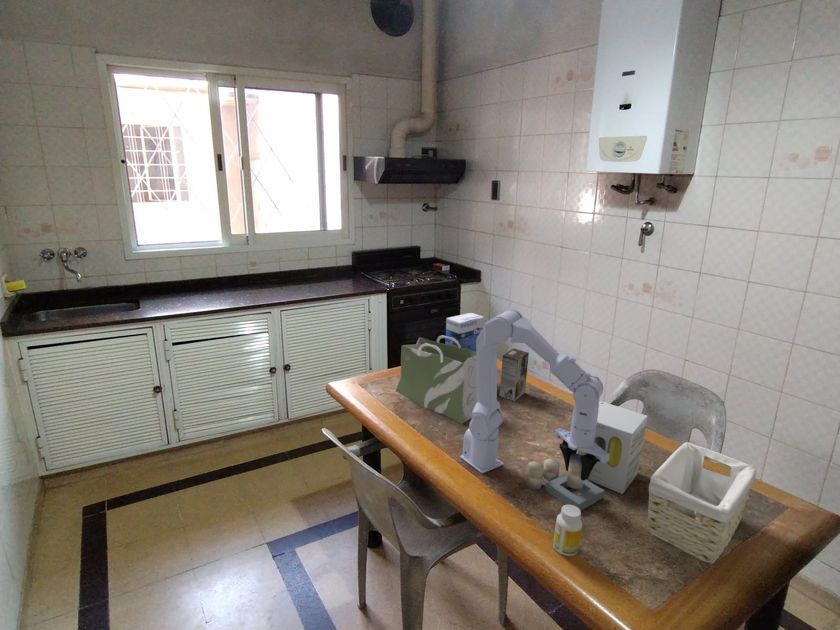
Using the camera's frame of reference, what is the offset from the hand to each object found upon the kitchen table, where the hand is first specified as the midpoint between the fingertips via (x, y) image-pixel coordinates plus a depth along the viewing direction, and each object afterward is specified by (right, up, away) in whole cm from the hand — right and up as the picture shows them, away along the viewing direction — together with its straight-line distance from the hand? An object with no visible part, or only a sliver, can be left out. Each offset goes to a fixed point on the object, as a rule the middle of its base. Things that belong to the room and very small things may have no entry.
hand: (576, 474), depth 124 cm
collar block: (0, -6, +2) cm, 6 cm away
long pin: (0, -3, +1) cm, 3 cm away
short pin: (-4, -3, +9) cm, 10 cm away
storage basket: (+24, -10, -8) cm, 28 cm away
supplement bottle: (-8, -11, -16) cm, 21 cm away
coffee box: (-6, +11, +57) cm, 58 cm away
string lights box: (-23, +14, +67) cm, 72 cm away
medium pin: (-10, -4, +5) cm, 12 cm away
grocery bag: (-33, +9, +50) cm, 60 cm away
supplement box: (+11, -4, +11) cm, 16 cm away
